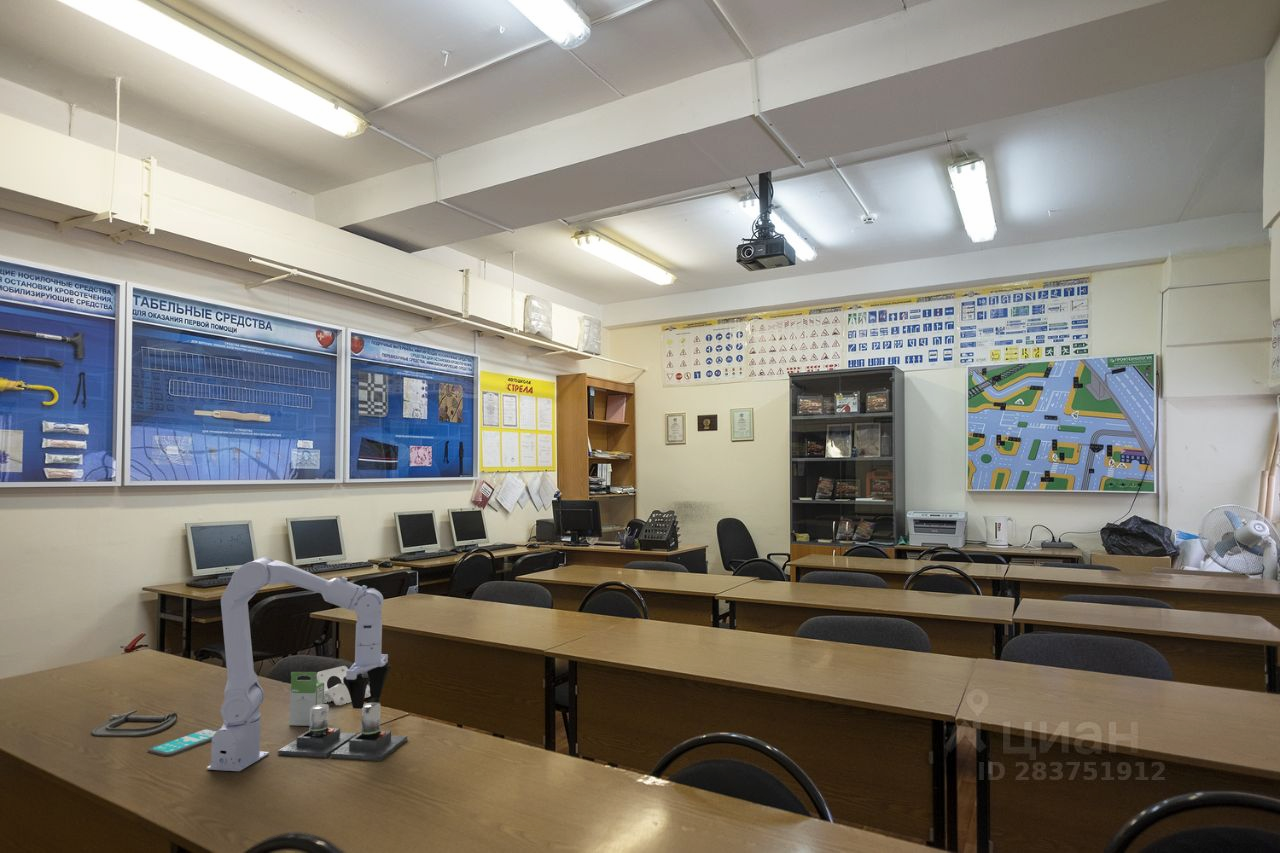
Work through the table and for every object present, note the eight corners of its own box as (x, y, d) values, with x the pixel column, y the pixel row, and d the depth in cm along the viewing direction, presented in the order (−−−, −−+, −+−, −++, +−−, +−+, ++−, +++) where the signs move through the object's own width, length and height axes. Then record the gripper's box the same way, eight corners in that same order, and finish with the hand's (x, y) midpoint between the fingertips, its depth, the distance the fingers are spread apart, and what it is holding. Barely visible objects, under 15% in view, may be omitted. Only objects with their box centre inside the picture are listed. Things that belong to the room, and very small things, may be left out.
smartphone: (231, 731, 168) (169, 754, 154) (231, 735, 167) (168, 758, 154) (208, 726, 171) (144, 748, 157) (208, 730, 171) (144, 752, 157)
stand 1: (326, 757, 153) (327, 740, 153) (277, 755, 155) (278, 738, 155) (356, 737, 165) (356, 721, 165) (310, 735, 166) (311, 719, 167)
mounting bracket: (363, 700, 198) (355, 663, 202) (374, 694, 195) (366, 657, 198) (323, 711, 189) (315, 672, 192) (334, 706, 185) (327, 666, 189)
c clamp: (72, 737, 167) (72, 725, 168) (134, 713, 184) (135, 702, 185) (144, 742, 164) (144, 730, 164) (201, 716, 181) (201, 706, 181)
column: (374, 735, 156) (374, 708, 156) (357, 734, 156) (358, 707, 157) (383, 728, 160) (384, 702, 160) (367, 728, 160) (367, 702, 161)
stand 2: (381, 761, 151) (381, 743, 151) (330, 758, 153) (331, 741, 153) (407, 740, 163) (407, 724, 163) (360, 737, 164) (360, 721, 165)
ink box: (323, 721, 176) (325, 668, 177) (314, 727, 172) (316, 672, 173) (298, 720, 176) (299, 667, 177) (288, 726, 173) (290, 671, 173)
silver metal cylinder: (321, 736, 157) (322, 710, 158) (305, 736, 158) (306, 709, 158) (332, 730, 162) (332, 704, 162) (316, 729, 162) (316, 703, 163)
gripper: (367, 651, 152) (366, 714, 151) (400, 636, 166) (398, 693, 165) (338, 650, 153) (336, 712, 152) (373, 635, 167) (371, 692, 166)
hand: (367, 702), depth 159 cm, fingers open, 7 cm apart
